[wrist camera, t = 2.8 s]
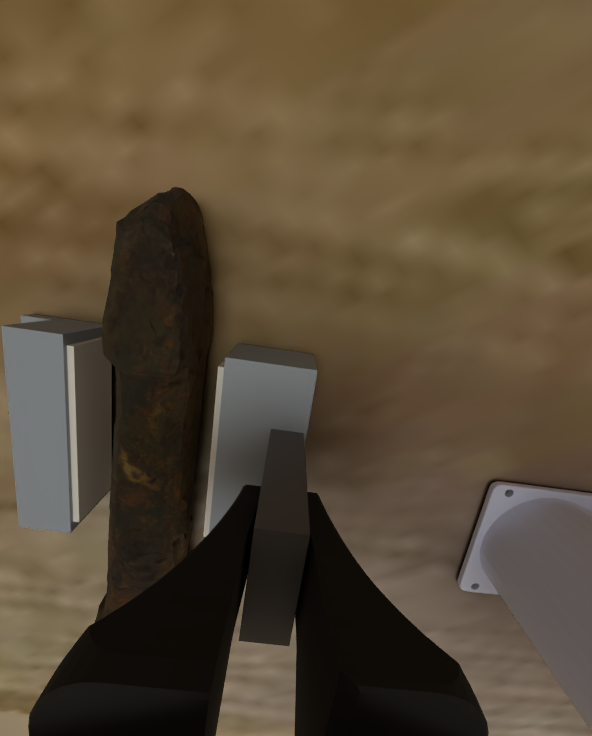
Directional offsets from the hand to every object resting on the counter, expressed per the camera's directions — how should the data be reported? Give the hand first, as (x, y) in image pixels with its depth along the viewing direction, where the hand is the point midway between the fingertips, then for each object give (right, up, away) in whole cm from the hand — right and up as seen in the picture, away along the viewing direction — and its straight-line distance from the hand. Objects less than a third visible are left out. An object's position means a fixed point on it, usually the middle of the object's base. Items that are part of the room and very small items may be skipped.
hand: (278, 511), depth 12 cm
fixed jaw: (-11, +3, +6) cm, 13 cm away
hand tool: (-7, +3, +6) cm, 10 cm away
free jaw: (-1, +2, +6) cm, 6 cm away
